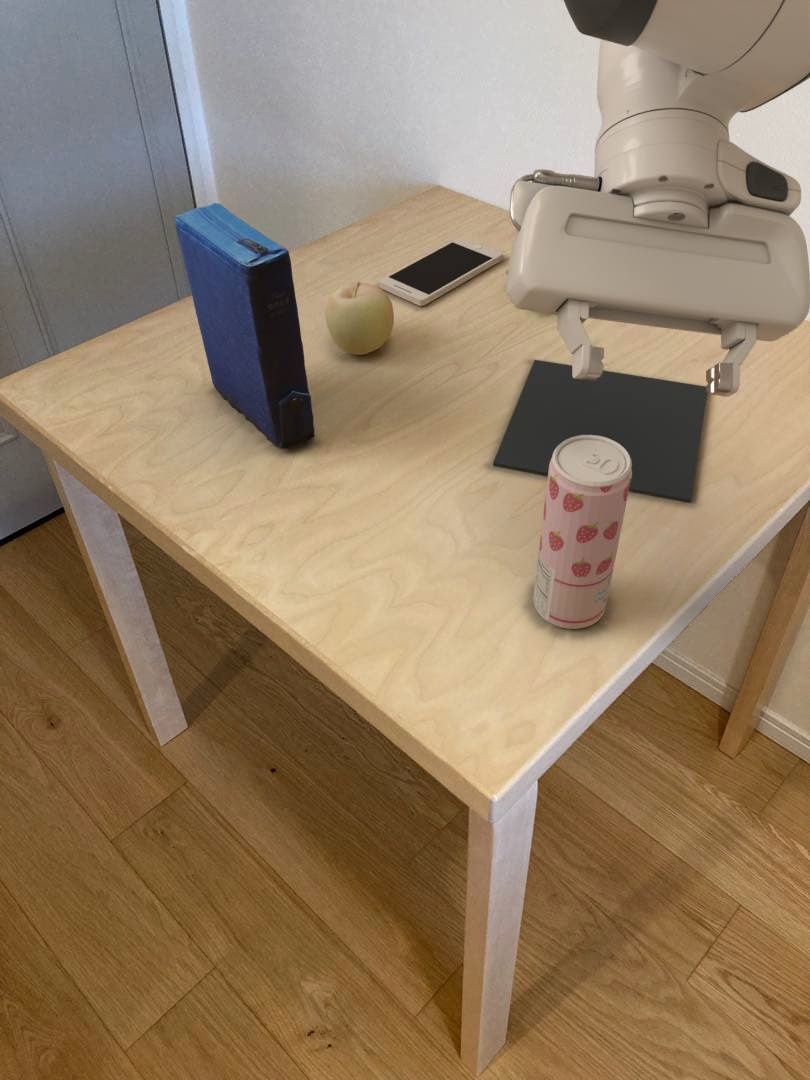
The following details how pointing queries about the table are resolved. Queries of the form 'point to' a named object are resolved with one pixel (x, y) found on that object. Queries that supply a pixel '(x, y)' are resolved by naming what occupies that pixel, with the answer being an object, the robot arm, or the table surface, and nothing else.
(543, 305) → the robot arm
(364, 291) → the fruit
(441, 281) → the smartphone
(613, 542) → the beverage can
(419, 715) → the table surface
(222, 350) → the book
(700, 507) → the table surface
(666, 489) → the mat
